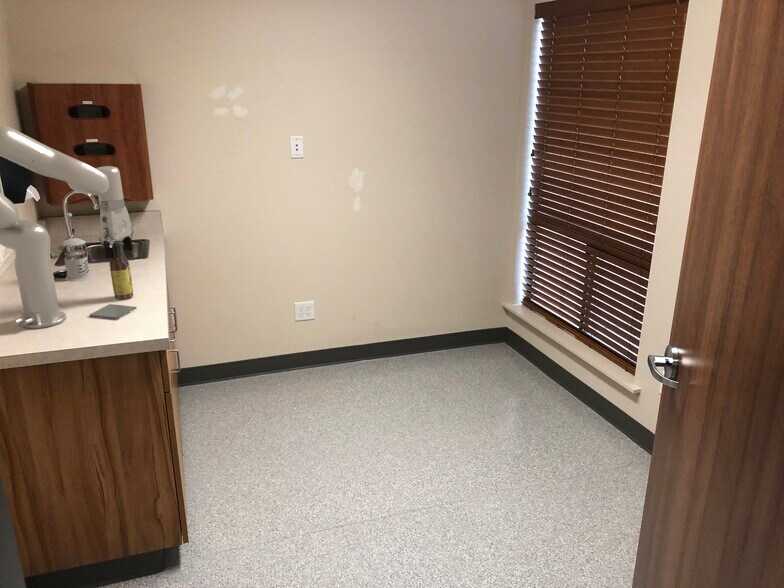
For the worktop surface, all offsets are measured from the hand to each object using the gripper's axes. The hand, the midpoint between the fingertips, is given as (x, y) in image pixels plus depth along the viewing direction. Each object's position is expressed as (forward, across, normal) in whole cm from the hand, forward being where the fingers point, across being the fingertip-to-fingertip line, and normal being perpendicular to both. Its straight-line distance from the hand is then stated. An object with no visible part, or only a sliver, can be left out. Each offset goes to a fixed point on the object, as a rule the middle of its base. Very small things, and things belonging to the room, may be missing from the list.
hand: (120, 254), depth 204 cm
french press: (+16, +15, +30) cm, 37 cm away
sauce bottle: (+16, -1, 0) cm, 16 cm away
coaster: (+15, -15, -6) cm, 22 cm away
